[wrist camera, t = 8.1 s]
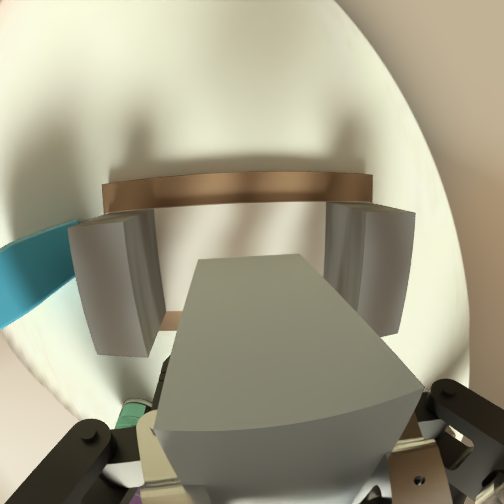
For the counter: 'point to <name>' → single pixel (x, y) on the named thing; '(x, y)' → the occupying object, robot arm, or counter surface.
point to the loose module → (278, 387)
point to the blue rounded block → (33, 270)
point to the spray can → (133, 424)
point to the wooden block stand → (233, 246)
